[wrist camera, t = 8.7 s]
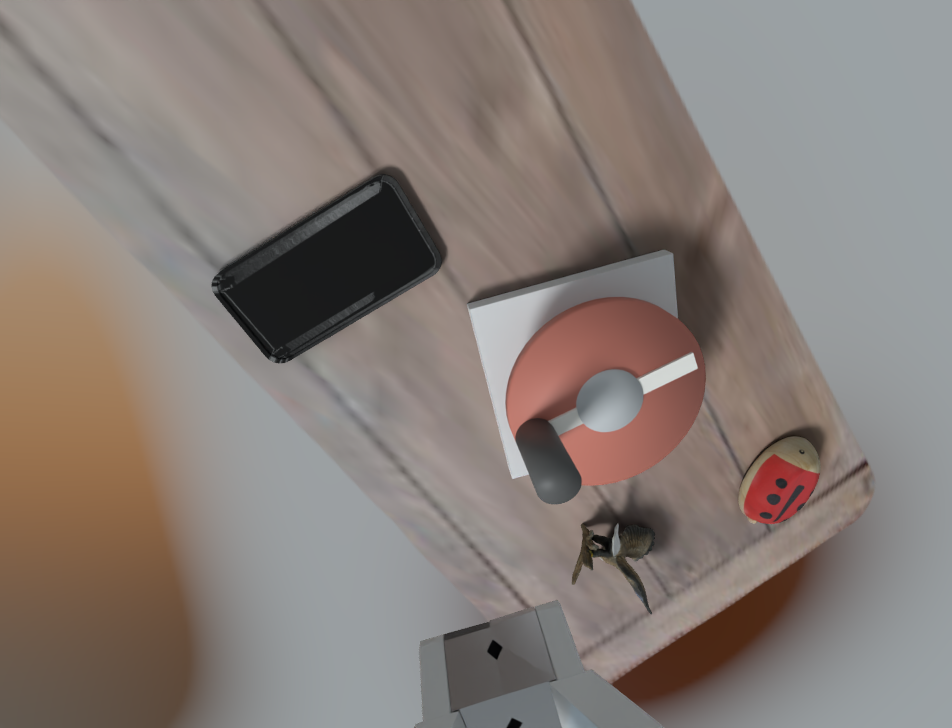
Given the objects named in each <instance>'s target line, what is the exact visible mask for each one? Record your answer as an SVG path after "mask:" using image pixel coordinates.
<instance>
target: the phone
mask: <svg viewBox="0 0 952 728" xmlns="http://www.w3.org/2000/svg"><path fill="white" fill-rule="evenodd" d="M441 263H442V261H441V256H440V253H439V251H438V249H437V248H436V246H435V245H434V243H433V241H432V239H431V237H430V236H429V234H428V232H427V231H426V229H425V227H424V226H423V224H422V222H421V221H420V219H419V217H418V215H417V214H416V212H415V210H414V209H413V207H412V205H411V204H410V202H409V200H408V199H407V197H406V195H405V193H404V192H403V190H402V188H401V187H400V185H399V183H398V182H397V181H396V180H395V179H394V178H393V177H391V176H389V175H385V174H383V175H378V176H375V177H373V178H372V179H370V180H368V181H367V182H365V183H364V184H362V185H360V186H359V187H357V188H355V189H354V190H352V191H351V192H349V193H347V194H346V195H344V196H342V197H341V198H339V199H338V200H336V201H334V202H333V203H331V204H329V205H328V206H326V207H325V208H323V209H321V210H320V211H318V212H316V213H315V214H313V215H312V216H310V217H308V218H307V219H305V220H303V221H302V222H300V223H299V224H297V225H295V226H294V227H292V228H290V229H289V230H287V231H286V232H284V233H282V234H281V235H279V236H278V237H276V238H274V239H273V240H271V241H269V242H268V243H266V244H265V245H263V246H261V247H260V248H258V249H256V250H255V251H253V252H252V253H250V254H248V255H247V256H245V257H243V258H242V259H240V260H239V261H237V262H235V263H234V264H232V265H230V266H229V267H227V268H226V269H224V270H222V271H221V272H220V273H218V274H217V275H216V276H215V277H214V279H213V281H212V290H213V293H214V294H215V296H216V297H217V298H218V300H219V301H220V302H221V303H222V305H223V306H224V307H225V308H226V309H227V311H228V312H229V313H230V314H231V315H232V317H233V318H234V319H235V320H236V321H237V323H238V324H239V325H240V326H241V327H242V329H243V330H244V331H245V332H246V333H247V335H248V336H249V337H250V338H251V339H252V341H253V342H254V343H255V344H256V345H257V347H258V348H259V349H260V350H261V352H262V353H263V354H264V355H265V356H266V357H267V358H268V359H269V360H270V361H272V362H275V363H286V362H288V361H290V360H292V359H293V358H295V357H297V356H298V355H300V354H302V353H303V352H305V351H307V350H309V349H310V348H312V347H314V346H315V345H317V344H319V343H320V342H322V341H324V340H325V339H327V338H329V337H331V336H332V335H334V334H336V333H337V332H339V331H340V330H342V329H344V328H346V327H347V326H349V325H351V324H352V323H354V322H356V321H357V320H359V319H361V318H362V317H364V316H366V315H367V314H369V313H371V312H372V311H374V310H376V309H378V308H379V307H381V306H383V305H384V304H386V303H388V302H389V301H391V300H393V299H394V298H396V297H398V296H399V295H401V294H403V293H404V292H406V291H408V290H410V289H411V288H413V287H415V286H416V285H418V284H420V283H421V282H423V281H425V280H426V279H428V278H430V277H431V276H433V275H435V274H436V273H437V272H438V271H439V269H440V267H441Z"/></svg>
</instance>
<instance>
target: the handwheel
mask: <svg viewBox="0 0 952 728" xmlns="http://www.w3.org/2000/svg"><path fill="white" fill-rule="evenodd" d="M705 382H706V373H705V364H704V359H703V355H702V352H701V349H700V347H699V344H698V342H697V341H696V339H695V337H694V335H693V334H692V333H691V332H690V330H689V329H688V328H687V327H686V326H685V325H684V324H683V323H682V322H681V321H680V320H679V319H678V318H676V317H675V316H673V315H672V314H670V313H668V312H667V311H665V310H664V309H662V308H660V307H659V306H657V305H654V304H652V303H650V302H647V301H644V300H640V299H636V298H628V297H606V298H600V299H594V300H591V301H587V302H584V303H581V304H578V305H576V306H574V307H571V308H569V309H567V310H565V311H563V312H562V313H560V314H558V315H556V316H555V317H554V318H552V319H551V320H550V321H548V322H547V323H546V324H544V325H543V326H542V327H541V328H540V329H539V330H538V331H537V332H536V333H535V334H534V335H533V336H532V337H531V338H530V340H529V341H528V342H527V343H526V344H525V346H524V348H523V349H522V351H521V352H520V354H519V355H518V357H517V359H516V361H515V363H514V365H513V367H512V370H511V373H510V376H509V379H508V384H507V389H506V400H505V406H506V416H507V420H508V424H509V427H510V430H511V432H512V434H513V437H514V439H515V442H516V444H517V446H518V449H519V451H520V454H521V456H522V459H523V461H524V463H525V466H526V468H527V471H528V473H529V475H530V478H531V480H532V483H533V485H534V488H535V490H536V492H537V495H538V497H539V498H540V499H541V500H542V501H544V502H546V503H549V504H562V503H565V502H567V501H569V500H571V499H572V498H573V497H574V496H575V495H576V494H577V493H578V492H579V490H580V488H581V485H604V484H609V483H615V482H618V481H622V480H625V479H628V478H630V477H633V476H635V475H638V474H640V473H642V472H643V471H645V470H647V469H649V468H651V467H652V466H654V465H655V464H657V463H658V462H660V461H661V460H662V459H663V458H664V457H666V456H667V455H668V454H669V453H670V452H671V451H672V450H673V449H674V448H675V447H676V446H677V445H678V444H679V443H680V442H681V440H682V439H683V438H684V437H685V435H686V434H687V433H688V431H689V429H690V428H691V426H692V425H693V423H694V421H695V419H696V417H697V415H698V412H699V410H700V407H701V404H702V401H703V396H704V392H705Z"/></svg>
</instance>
